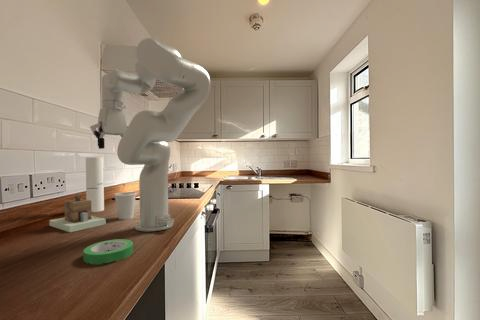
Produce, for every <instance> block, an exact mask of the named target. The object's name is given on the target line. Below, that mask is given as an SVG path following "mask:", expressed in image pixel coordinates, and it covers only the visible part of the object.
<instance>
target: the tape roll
mask: <svg viewBox="0 0 480 320" xmlns="http://www.w3.org/2000/svg"><path fill="white" fill-rule="evenodd" d="M133 242H134V241H132V240H130V239H124V238H123V239H122V238H121V239H118V238H117V239H116V238H115V239H109V240H108V239H107V240H104V241H103V240H102V241H99V242H95V243H93V244H90V245H87V247H85V248H84V249H83V252H82V253H83V254H82V255H83V257H82V258H83V262H84V263H85V262H86V263H85V264H88V263H90V264H89V265H103V264H102V263H108V264H110V263H109V262H113V261H117V260H120V261H122V260H121V259H123V258H125V259H127V258H126V257H128V256H129V257H131V256H132V255H133V254H134V243H133ZM108 250H109V251H108ZM132 253H133V254H132ZM131 254H132V255H131ZM130 255H131V256H130ZM129 257H128V258H129ZM123 260H124V259H123ZM117 262H118V261H117ZM113 263H114V262H113Z"/></svg>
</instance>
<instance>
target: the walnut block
mask: <svg viewBox="0 0 480 320" xmlns="http://www.w3.org/2000/svg"><path fill="white" fill-rule="evenodd" d="M78 212H86V213H88V220H90V219H92V216H93V215H92V213H93V212H92V210H91V200H86V199H84V198H81V196H75V199H71V200H64V218H65V221H69V222H73V223H76V222H79V219H78Z"/></svg>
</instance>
